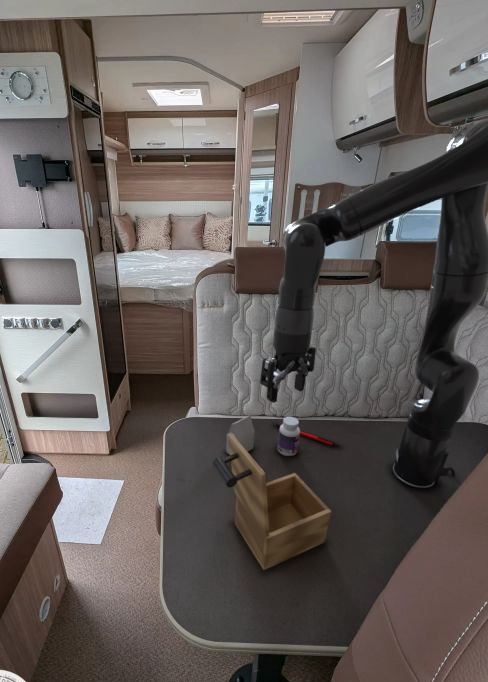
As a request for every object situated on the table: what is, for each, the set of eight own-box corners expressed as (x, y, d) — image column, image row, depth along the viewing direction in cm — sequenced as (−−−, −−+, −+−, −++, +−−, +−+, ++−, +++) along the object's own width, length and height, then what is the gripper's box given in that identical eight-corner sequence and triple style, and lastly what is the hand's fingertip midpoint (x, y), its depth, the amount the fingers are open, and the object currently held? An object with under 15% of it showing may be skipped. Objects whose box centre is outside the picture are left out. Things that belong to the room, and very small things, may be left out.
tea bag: (253, 448, 100) (255, 418, 96) (235, 458, 96) (237, 428, 92) (243, 441, 103) (245, 412, 98) (226, 451, 99) (227, 421, 94)
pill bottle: (297, 458, 97) (301, 428, 92) (276, 455, 98) (280, 425, 93) (297, 445, 101) (301, 416, 97) (277, 442, 102) (280, 414, 98)
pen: (337, 447, 101) (338, 444, 100) (273, 426, 110) (274, 423, 109) (338, 446, 101) (339, 443, 101) (275, 424, 110) (275, 421, 110)
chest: (290, 502, 83) (295, 472, 79) (324, 542, 74) (331, 511, 70) (234, 523, 78) (236, 493, 74) (263, 570, 68) (267, 538, 64)
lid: (231, 432, 66) (203, 443, 64) (265, 473, 57) (234, 488, 55) (238, 491, 74) (213, 502, 72) (269, 535, 64) (241, 550, 62)
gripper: (282, 340, 67) (274, 413, 75) (330, 325, 75) (319, 392, 82) (254, 328, 73) (250, 397, 80) (302, 315, 80) (295, 379, 88)
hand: (285, 395), depth 81 cm, fingers open, 8 cm apart
